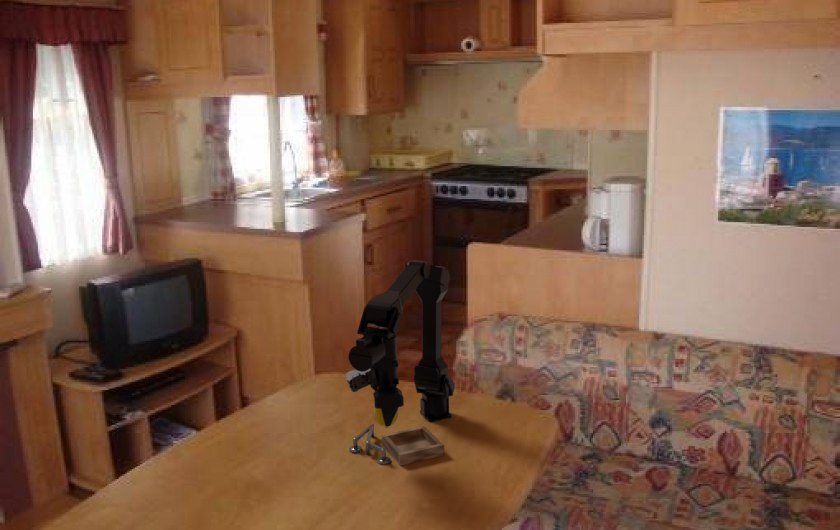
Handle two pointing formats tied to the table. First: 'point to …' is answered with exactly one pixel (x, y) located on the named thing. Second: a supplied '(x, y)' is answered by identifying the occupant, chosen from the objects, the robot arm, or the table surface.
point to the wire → (369, 445)
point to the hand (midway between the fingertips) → (386, 420)
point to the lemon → (380, 419)
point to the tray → (412, 445)
